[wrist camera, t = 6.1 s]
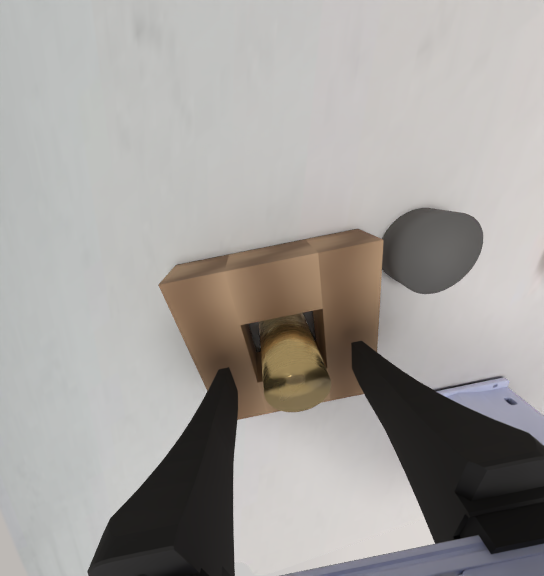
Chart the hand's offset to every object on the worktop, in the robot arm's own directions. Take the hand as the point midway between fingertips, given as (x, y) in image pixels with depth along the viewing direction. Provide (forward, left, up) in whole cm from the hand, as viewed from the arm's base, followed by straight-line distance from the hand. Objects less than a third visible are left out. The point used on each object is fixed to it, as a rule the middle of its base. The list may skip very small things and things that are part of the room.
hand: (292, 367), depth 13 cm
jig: (0, 0, -5) cm, 5 cm away
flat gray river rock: (-10, -4, -5) cm, 12 cm away
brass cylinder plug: (0, 0, -5) cm, 5 cm away
